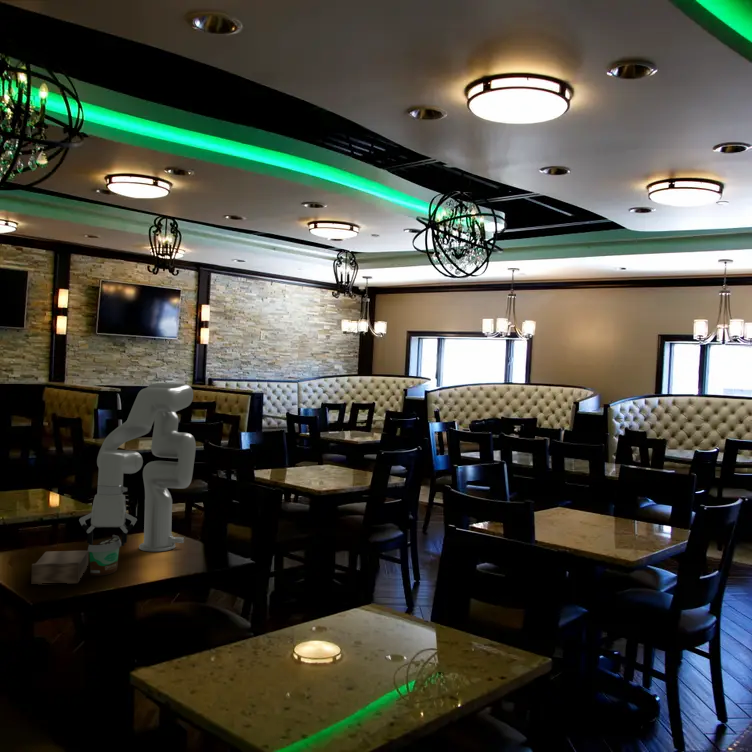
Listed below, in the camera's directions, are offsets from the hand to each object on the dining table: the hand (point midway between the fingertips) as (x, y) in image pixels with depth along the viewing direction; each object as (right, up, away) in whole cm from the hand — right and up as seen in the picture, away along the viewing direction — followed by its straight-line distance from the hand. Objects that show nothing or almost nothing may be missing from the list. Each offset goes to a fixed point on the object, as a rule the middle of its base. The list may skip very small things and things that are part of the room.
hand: (106, 545), depth 231 cm
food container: (0, -9, +2) cm, 9 cm away
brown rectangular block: (-13, -9, -3) cm, 16 cm away
